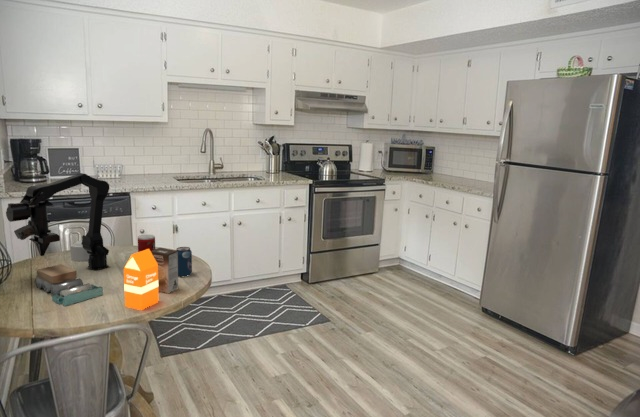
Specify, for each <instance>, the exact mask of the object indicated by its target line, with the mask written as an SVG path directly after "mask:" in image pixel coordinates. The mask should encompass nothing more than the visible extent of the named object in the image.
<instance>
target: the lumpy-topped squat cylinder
mask: <svg viewBox="0 0 640 417" xmlns="http://www.w3.org/2000/svg"><path fill="white" fill-rule="evenodd" d="M81 243H82V240H77V241H75V242H74V243H72V244H71V245H70V259H71V261H72V262H80V261H81V262H88V259H89V255H91V254H88V253H87V251H86V250H85V249H84V248H83V245H82V244H81Z"/></svg>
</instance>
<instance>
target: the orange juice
mask: <svg viewBox="0 0 640 417" xmlns="http://www.w3.org/2000/svg"><path fill="white" fill-rule="evenodd" d="M123 282H124V283H123V285H124V286H123V288H124V289H123V290H124V306H125V307H126V308H129V309H133V310H138V311H143V310H145V308H146V309H148V308H150V307H152V306H154V305H155V304H158V303H159V302H160V300H159V299H160V298H159V297H160V295H159V293H160V292H159V291H158V287H159V285H158V264H157V262H156V260H155V259H154V257H153V255H152V253H151V251H150V249H146V250H143V251H140V252H138V251H137V252H134V253H133V254H131V255H130V257H129V259H128V260H127V262H126V264H125V266H124V267H123ZM158 301H159V302H158ZM149 306H150V307H149ZM147 307H148V308H147Z"/></svg>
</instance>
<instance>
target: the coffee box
mask: <svg viewBox="0 0 640 417" xmlns="http://www.w3.org/2000/svg"><path fill="white" fill-rule="evenodd" d="M151 253H152V255H153V257H154V259H155V260H156V262H157V264H158V285H159V287H158V291H160V292H159V293H163V292H165V293H164V294H168V293H169V294H170V292H171V291H173V290H175V289H176V290H178V289H179V276H178V251H176V249H170V248H166V247H165V248H164V247H158V248H155V250H152V251H151ZM177 288H178V289H177ZM176 290H175V291H176ZM173 292H174V291H173ZM171 293H172V292H171Z"/></svg>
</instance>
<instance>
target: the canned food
mask: <svg viewBox="0 0 640 417" xmlns="http://www.w3.org/2000/svg"><path fill="white" fill-rule="evenodd" d="M146 249H150V251H152V250H155V249H156V236H155V235H154V234H141V235H139V236H137V252H140V251H143V250H146Z"/></svg>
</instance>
